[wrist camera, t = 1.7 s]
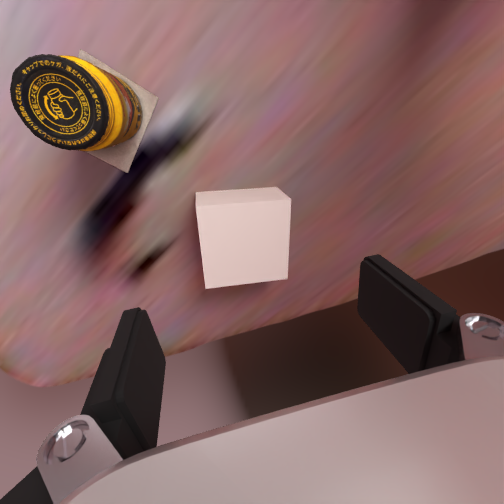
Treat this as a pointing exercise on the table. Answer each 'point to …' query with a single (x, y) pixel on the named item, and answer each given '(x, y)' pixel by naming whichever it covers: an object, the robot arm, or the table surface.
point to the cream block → (243, 235)
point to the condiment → (82, 106)
